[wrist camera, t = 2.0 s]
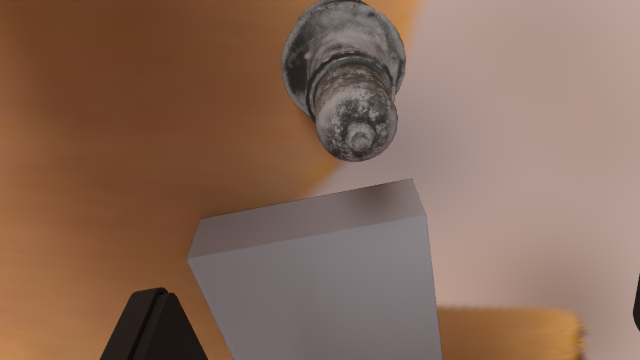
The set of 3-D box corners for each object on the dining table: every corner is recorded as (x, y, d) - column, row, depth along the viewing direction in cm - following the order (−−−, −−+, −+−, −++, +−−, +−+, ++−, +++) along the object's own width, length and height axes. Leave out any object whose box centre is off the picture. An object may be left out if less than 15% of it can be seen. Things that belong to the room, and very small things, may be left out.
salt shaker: (414, 56, 25) (490, 160, 15) (328, 119, 27) (343, 251, 16) (350, -37, 22) (388, 8, 12) (261, 39, 24) (227, 134, 14)
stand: (200, 218, 30) (186, 259, 27) (412, 178, 29) (426, 214, 25) (258, 356, 37) (253, 401, 34) (430, 328, 36) (443, 372, 32)
